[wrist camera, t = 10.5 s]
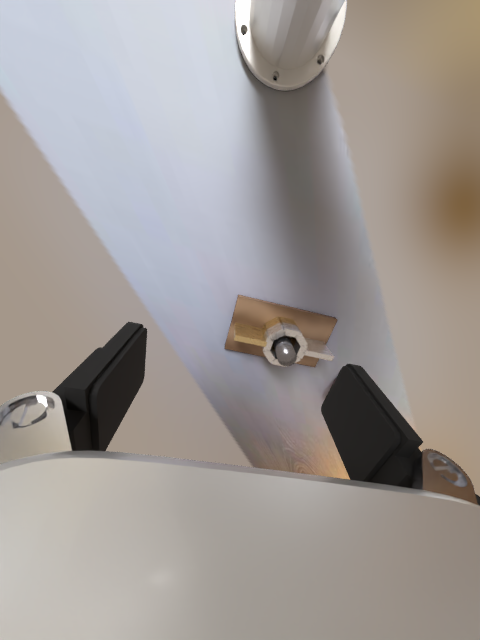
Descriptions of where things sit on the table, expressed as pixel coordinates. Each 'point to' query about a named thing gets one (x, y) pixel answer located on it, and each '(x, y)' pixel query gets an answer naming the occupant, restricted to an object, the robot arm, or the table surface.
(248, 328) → the hinge
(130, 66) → the table surface
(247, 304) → the mounting board
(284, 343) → the hinge pin
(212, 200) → the table surface
